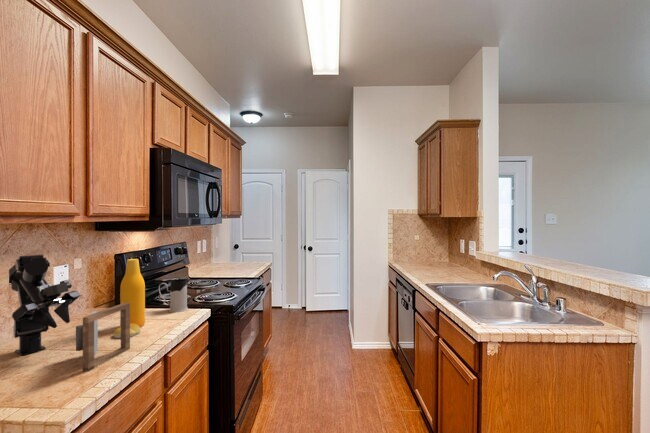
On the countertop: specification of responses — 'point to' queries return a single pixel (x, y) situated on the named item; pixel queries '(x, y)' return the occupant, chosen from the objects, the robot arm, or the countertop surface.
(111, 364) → the countertop surface
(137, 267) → the beer bottle
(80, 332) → the door
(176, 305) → the grey cylinder with handle
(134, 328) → the bread roll
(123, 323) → the door frame
